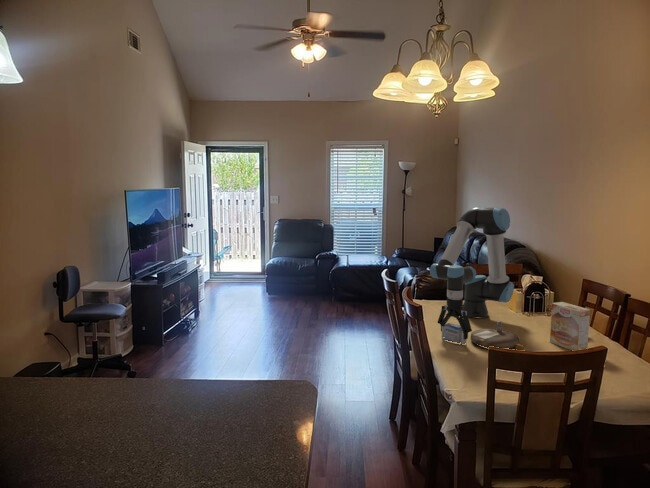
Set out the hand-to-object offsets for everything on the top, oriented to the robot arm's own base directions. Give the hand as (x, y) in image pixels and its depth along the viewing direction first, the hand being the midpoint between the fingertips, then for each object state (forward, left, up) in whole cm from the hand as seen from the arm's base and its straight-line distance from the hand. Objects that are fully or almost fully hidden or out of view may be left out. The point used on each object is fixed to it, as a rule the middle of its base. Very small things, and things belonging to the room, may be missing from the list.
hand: (453, 341), depth 219 cm
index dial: (+13, +14, +1) cm, 19 cm away
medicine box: (0, 0, 0) cm, 0 cm away
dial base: (+15, +14, 0) cm, 21 cm away
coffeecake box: (+36, +38, 0) cm, 52 cm away
